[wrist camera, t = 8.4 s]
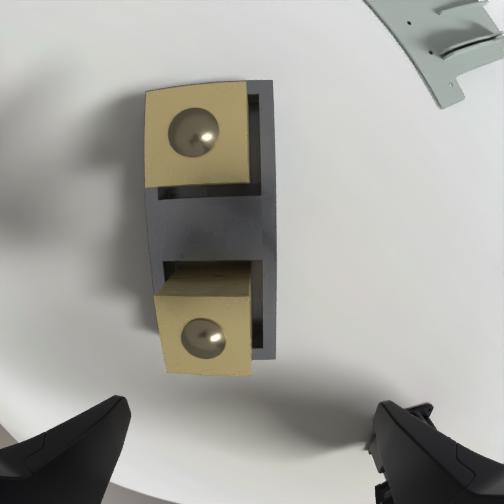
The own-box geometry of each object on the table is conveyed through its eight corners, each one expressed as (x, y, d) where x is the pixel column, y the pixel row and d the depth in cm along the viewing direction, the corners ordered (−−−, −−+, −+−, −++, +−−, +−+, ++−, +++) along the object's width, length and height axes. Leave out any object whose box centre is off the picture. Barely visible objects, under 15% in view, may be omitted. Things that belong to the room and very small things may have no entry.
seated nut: (251, 261, 18) (248, 297, 12) (252, 323, 19) (251, 377, 13) (183, 262, 18) (152, 297, 13) (189, 323, 20) (166, 373, 14)
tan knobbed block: (249, 114, 16) (245, 80, 10) (250, 183, 17) (247, 181, 11) (179, 119, 16) (145, 91, 10) (180, 186, 17) (143, 187, 11)
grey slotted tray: (270, 93, 16) (272, 80, 14) (273, 340, 20) (275, 359, 18) (158, 102, 16) (145, 91, 14) (173, 339, 20) (165, 356, 18)
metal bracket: (439, -60, 6) (537, 69, 9) (426, -35, 11) (508, 77, 14) (321, -36, 12) (438, 113, 15) (324, -6, 17) (415, 118, 20)
